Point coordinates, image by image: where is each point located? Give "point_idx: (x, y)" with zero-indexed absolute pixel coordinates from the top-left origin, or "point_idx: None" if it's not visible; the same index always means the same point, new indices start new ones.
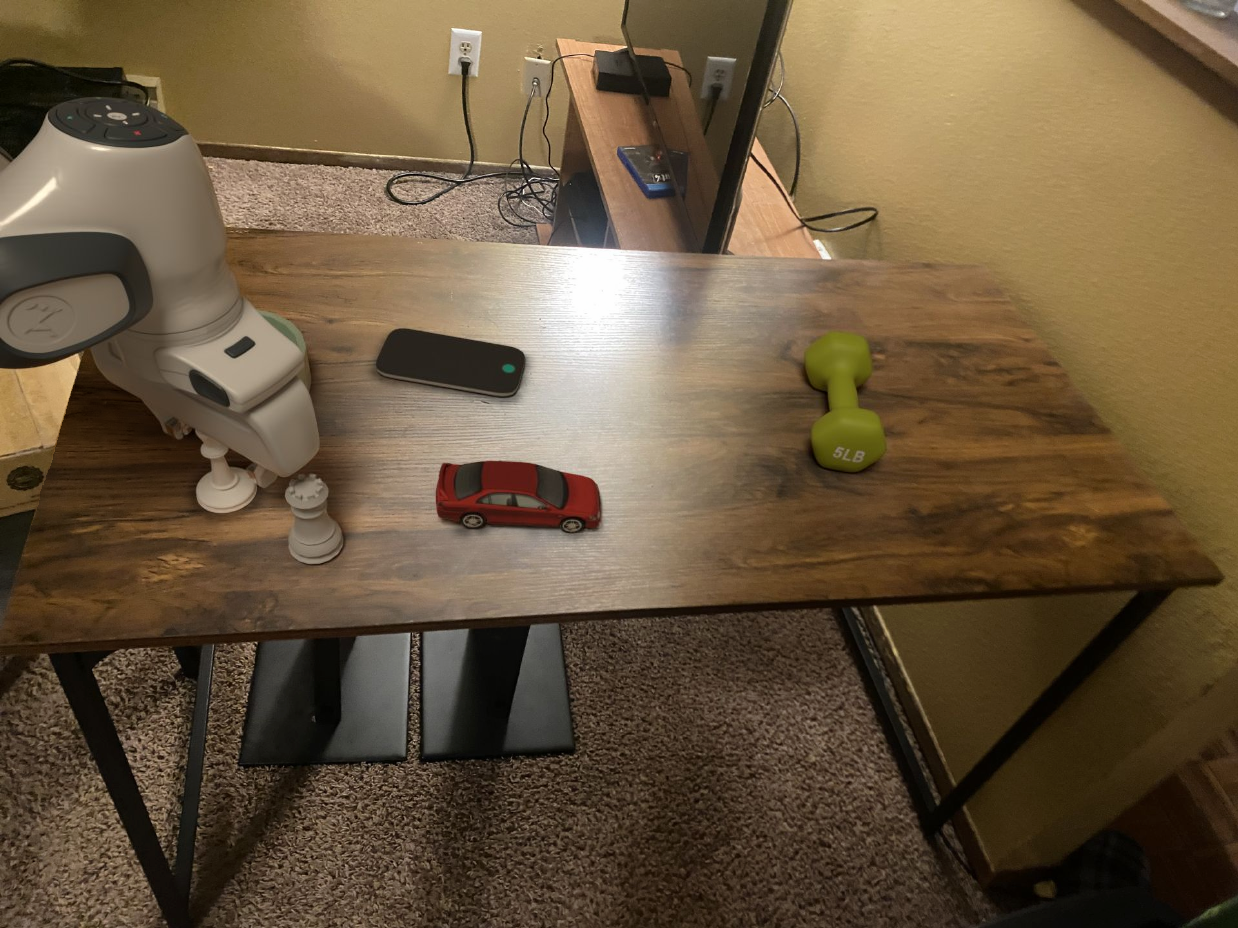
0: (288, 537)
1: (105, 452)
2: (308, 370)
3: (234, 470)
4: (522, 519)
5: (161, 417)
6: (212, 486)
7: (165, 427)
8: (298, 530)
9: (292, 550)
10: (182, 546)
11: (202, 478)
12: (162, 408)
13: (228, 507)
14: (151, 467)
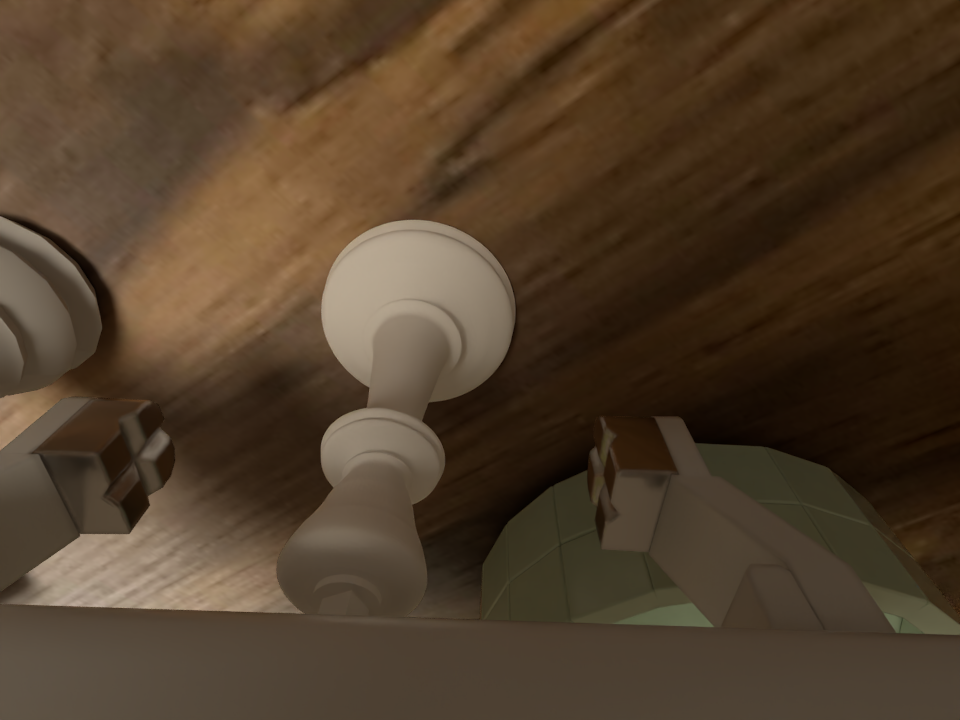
0: (18, 264)
1: (915, 232)
2: None
3: (438, 387)
4: None
5: (699, 500)
6: (414, 302)
7: (669, 449)
8: None
9: (9, 232)
10: (340, 26)
11: (504, 313)
12: (580, 681)
13: (337, 263)
14: (715, 264)
